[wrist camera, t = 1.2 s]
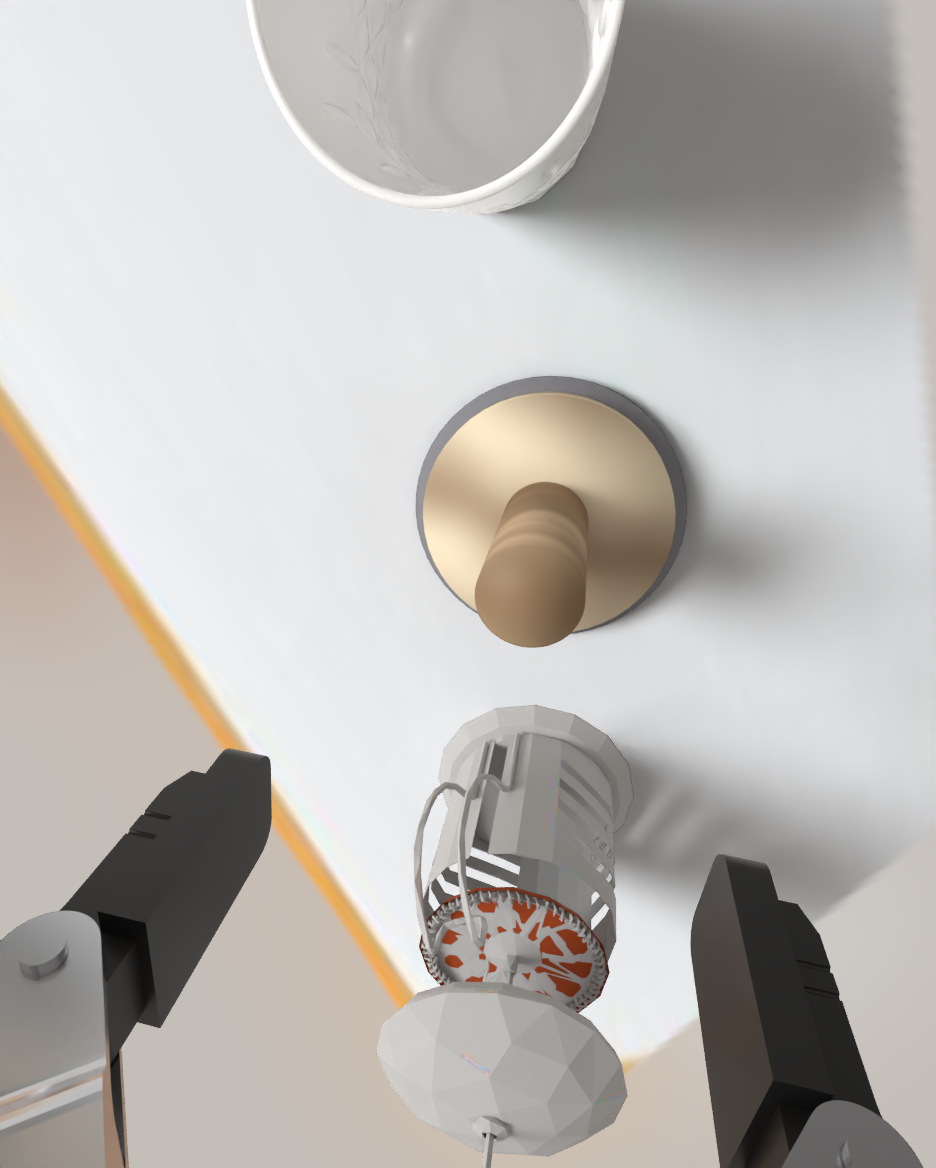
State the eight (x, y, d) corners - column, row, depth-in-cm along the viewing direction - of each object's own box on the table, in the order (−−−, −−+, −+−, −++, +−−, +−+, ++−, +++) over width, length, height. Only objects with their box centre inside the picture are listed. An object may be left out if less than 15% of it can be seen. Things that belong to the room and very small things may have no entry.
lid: (438, 374, 26) (380, 411, 19) (702, 411, 25) (742, 466, 18) (418, 602, 31) (364, 701, 24) (642, 643, 29) (656, 759, 22)
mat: (429, 357, 26) (427, 358, 26) (718, 398, 25) (719, 399, 25) (408, 607, 31) (406, 610, 31) (650, 650, 30) (651, 655, 30)
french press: (483, 873, 37) (313, 1771, 15) (391, 704, 34) (-18, 1562, 11) (660, 840, 34) (776, 1907, 12) (579, 649, 31) (529, 1680, 8)
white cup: (670, 61, 21) (721, -88, 12) (512, 279, 25) (465, 285, 16) (473, -124, 20) (376, -433, 11) (338, 129, 24) (180, 44, 15)
